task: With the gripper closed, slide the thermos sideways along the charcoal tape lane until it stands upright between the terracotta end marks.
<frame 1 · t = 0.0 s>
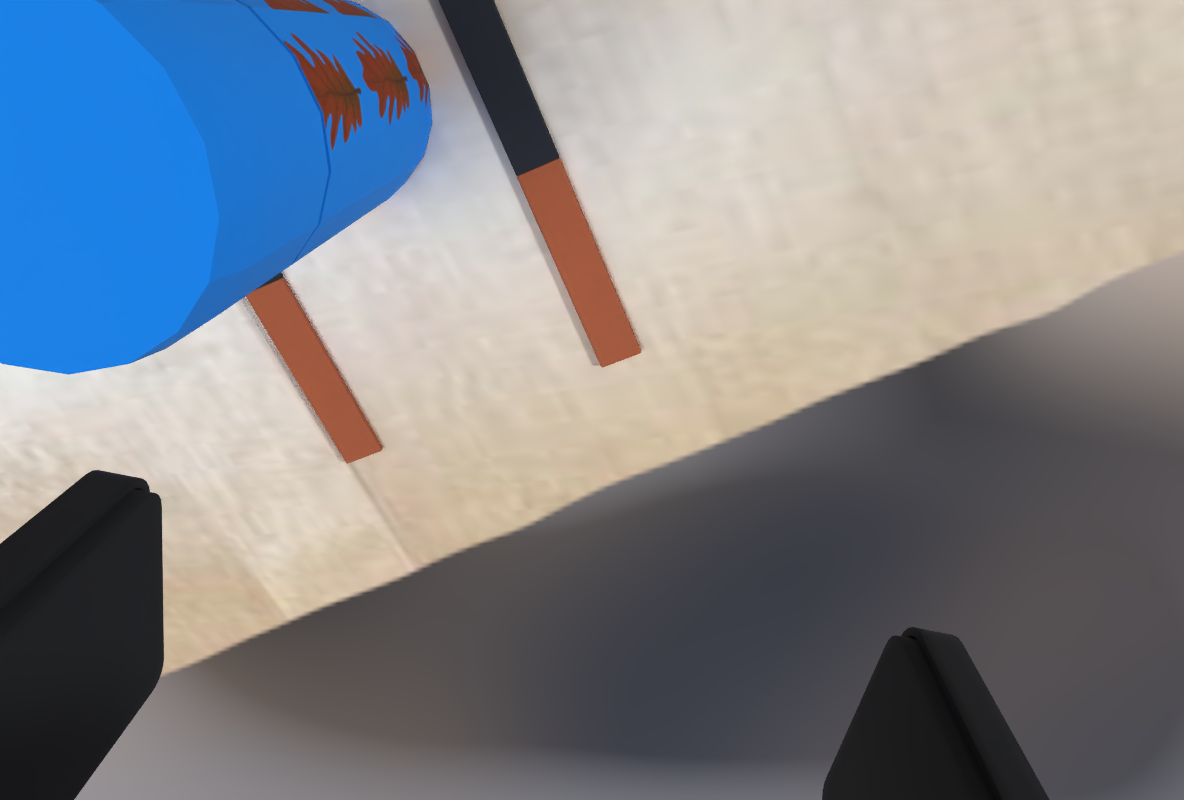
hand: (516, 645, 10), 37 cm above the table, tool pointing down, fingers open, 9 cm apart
lane: (388, 211, 46), on the table
thermos: (335, 105, 44), on the table
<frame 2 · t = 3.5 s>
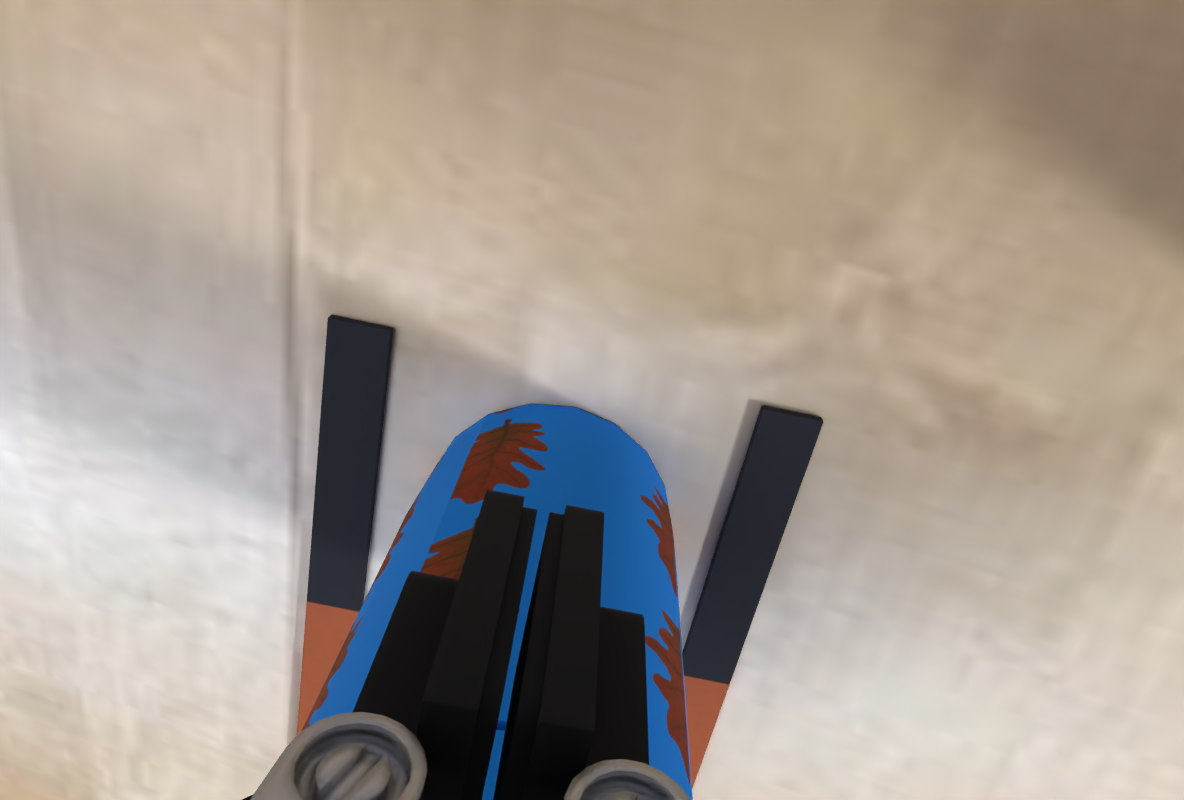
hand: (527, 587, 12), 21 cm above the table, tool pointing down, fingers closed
lane: (524, 621, 38), on the table
thermos: (548, 510, 36), on the table
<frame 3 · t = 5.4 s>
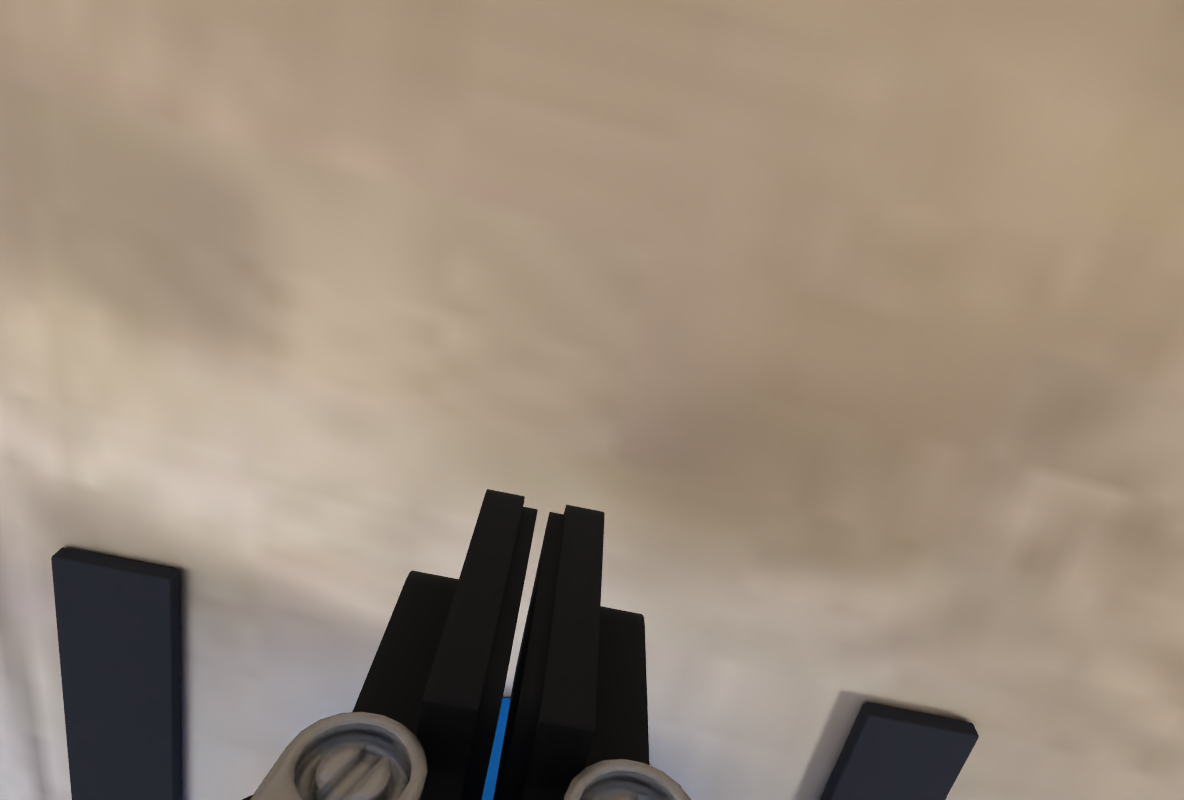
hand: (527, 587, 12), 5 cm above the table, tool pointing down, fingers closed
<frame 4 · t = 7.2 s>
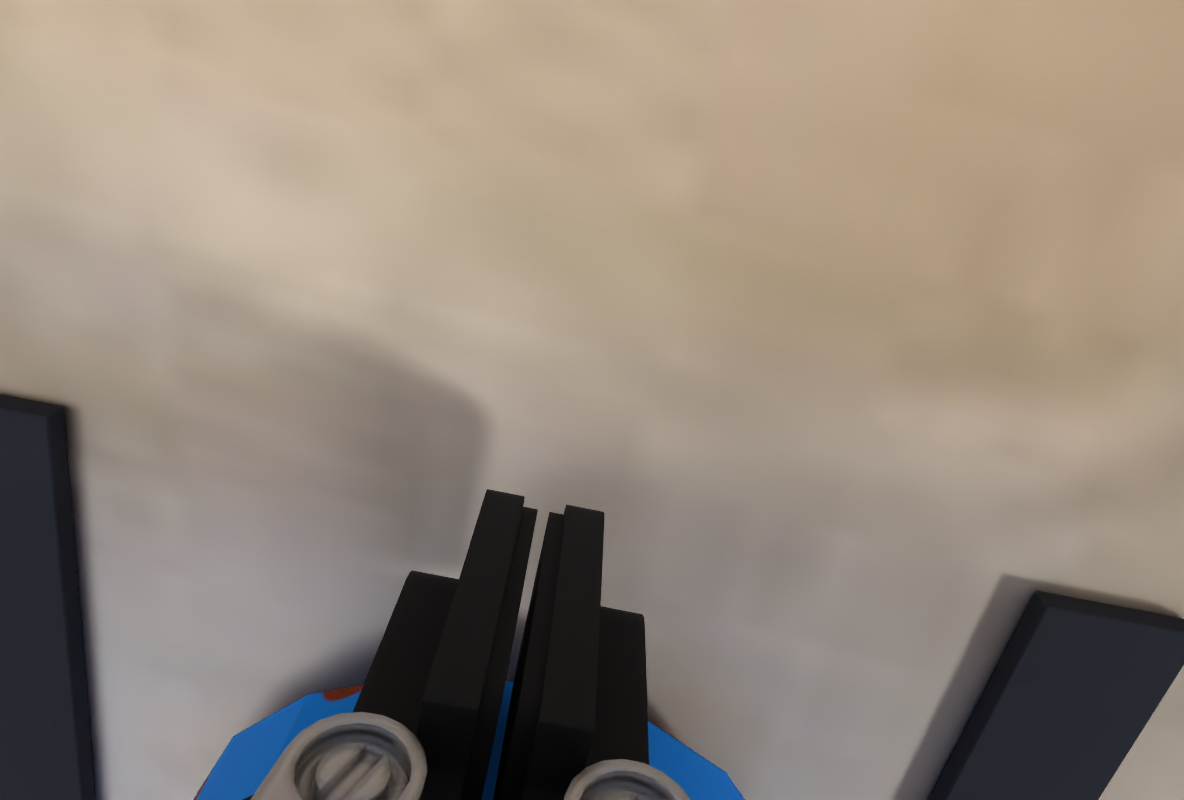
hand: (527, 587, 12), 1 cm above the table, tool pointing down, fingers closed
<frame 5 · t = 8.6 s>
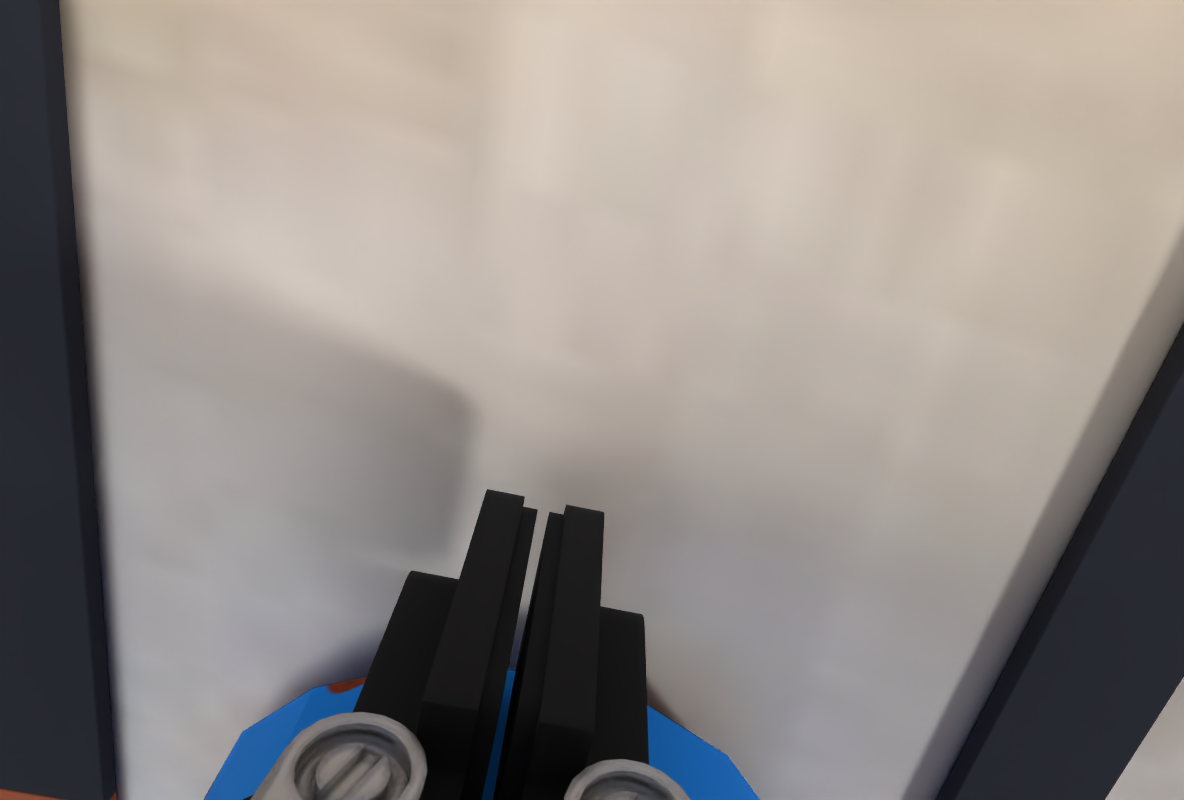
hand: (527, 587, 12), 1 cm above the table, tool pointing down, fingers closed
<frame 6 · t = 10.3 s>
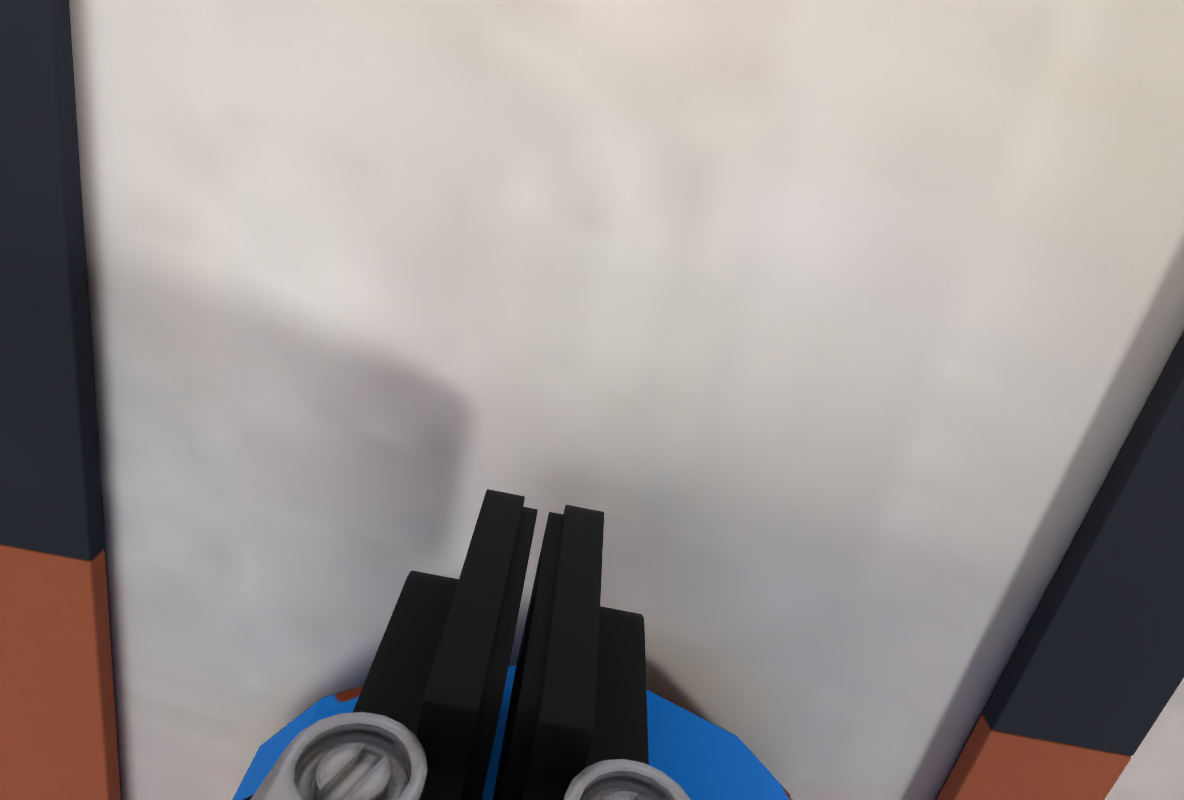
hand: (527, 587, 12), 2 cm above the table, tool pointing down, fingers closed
lane: (562, 584, 13), on the table
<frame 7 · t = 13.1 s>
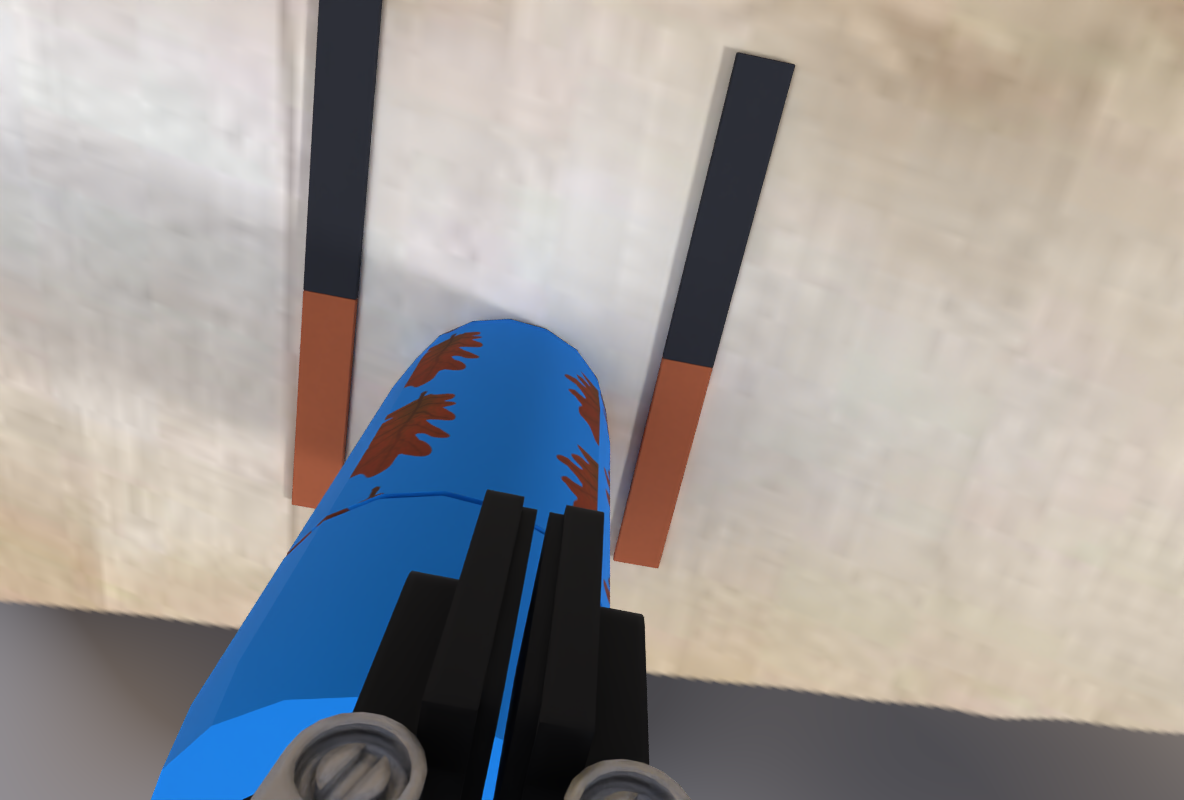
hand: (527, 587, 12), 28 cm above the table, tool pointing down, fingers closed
lane: (515, 307, 39), on the table
thermos: (503, 414, 42), on the table
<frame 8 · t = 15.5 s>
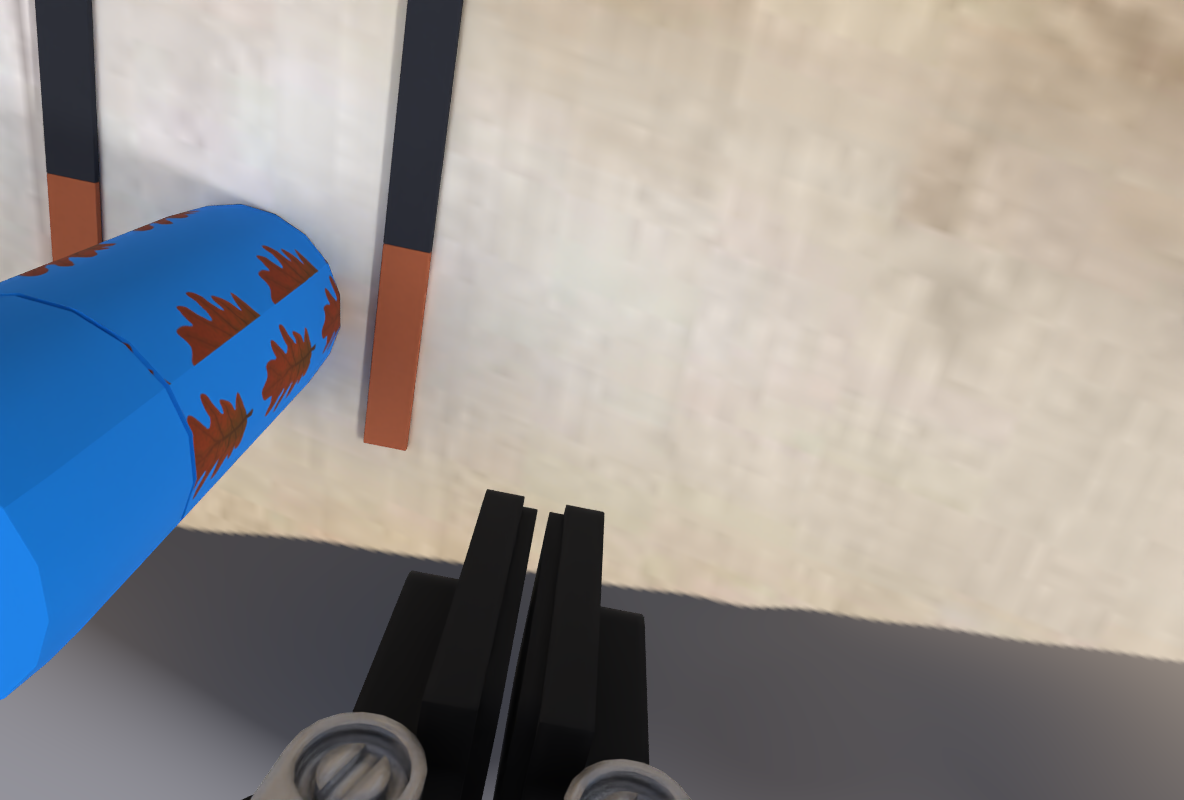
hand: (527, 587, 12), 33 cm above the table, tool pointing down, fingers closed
lane: (244, 193, 43), on the table
thermos: (248, 298, 45), on the table
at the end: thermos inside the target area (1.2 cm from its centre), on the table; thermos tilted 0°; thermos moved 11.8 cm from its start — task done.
